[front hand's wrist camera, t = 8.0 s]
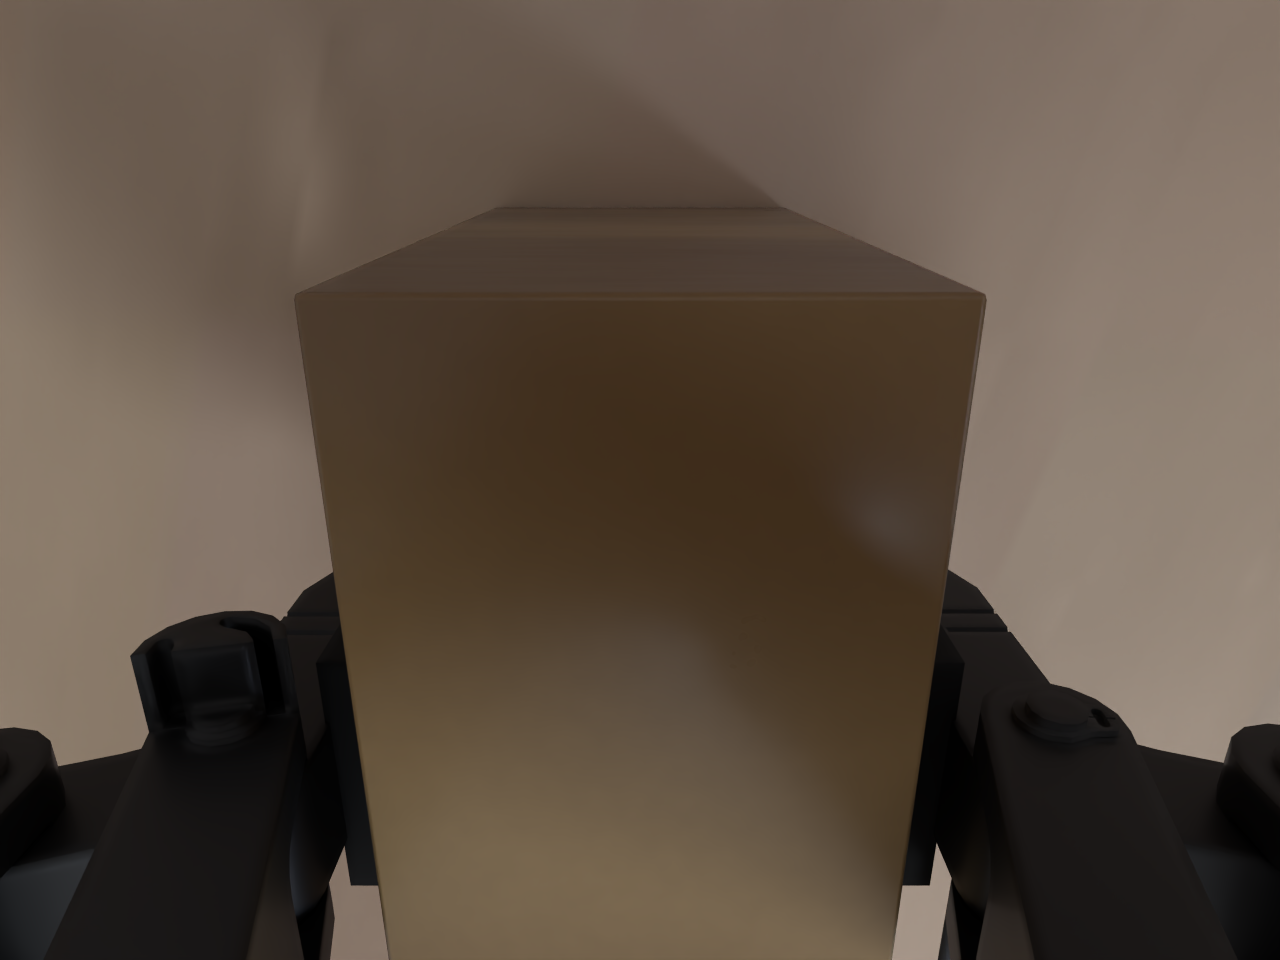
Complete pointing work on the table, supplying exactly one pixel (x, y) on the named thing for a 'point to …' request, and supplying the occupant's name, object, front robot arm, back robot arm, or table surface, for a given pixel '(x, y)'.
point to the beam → (640, 575)
